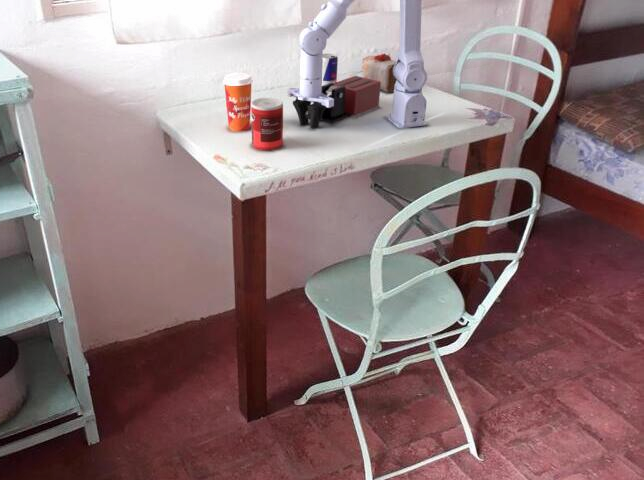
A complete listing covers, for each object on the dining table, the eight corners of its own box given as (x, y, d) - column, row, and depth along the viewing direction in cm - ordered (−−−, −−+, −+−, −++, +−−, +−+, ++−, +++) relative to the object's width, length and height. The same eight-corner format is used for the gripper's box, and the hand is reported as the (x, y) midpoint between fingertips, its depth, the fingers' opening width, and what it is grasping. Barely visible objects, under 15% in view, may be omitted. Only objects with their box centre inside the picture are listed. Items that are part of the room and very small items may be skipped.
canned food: (264, 137, 172) (263, 95, 166) (289, 143, 168) (289, 101, 162) (245, 146, 167) (244, 103, 161) (271, 153, 163) (270, 109, 157)
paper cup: (229, 135, 175) (227, 81, 167) (221, 125, 181) (219, 73, 173) (257, 131, 176) (256, 78, 169) (249, 121, 182) (248, 70, 175)
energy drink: (336, 99, 196) (338, 58, 190) (318, 99, 196) (320, 58, 190) (334, 93, 201) (336, 53, 194) (317, 94, 201) (318, 53, 194)
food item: (356, 83, 208) (358, 51, 203) (376, 79, 211) (379, 47, 206) (385, 94, 198) (388, 61, 193) (405, 89, 201) (409, 56, 196)
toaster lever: (312, 122, 176) (309, 113, 174) (303, 120, 178) (301, 111, 175) (341, 95, 180) (339, 86, 177) (332, 93, 181) (330, 84, 179)
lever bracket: (331, 124, 178) (333, 92, 174) (312, 118, 183) (313, 87, 178) (350, 117, 183) (352, 85, 178) (331, 111, 187) (332, 80, 182)
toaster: (354, 118, 182) (355, 90, 178) (328, 110, 188) (329, 83, 184) (379, 108, 188) (381, 81, 184) (353, 101, 194) (355, 74, 190)
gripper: (279, 74, 173) (279, 125, 180) (322, 86, 164) (319, 138, 171) (298, 69, 177) (297, 118, 184) (340, 79, 168) (337, 131, 175)
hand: (309, 127), depth 178 cm, fingers open, 3 cm apart
